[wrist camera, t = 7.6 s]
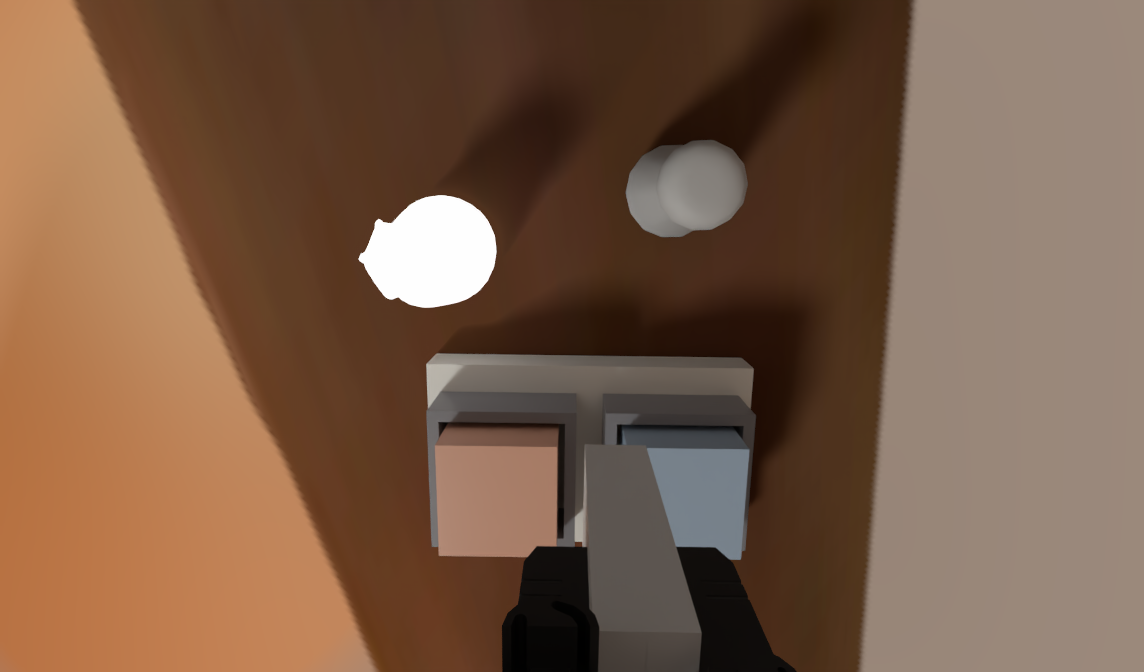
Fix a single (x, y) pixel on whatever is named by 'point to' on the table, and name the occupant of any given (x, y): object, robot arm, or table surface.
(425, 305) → the figurine
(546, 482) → the terracotta key
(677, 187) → the salt shaker
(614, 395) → the key housing
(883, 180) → the table surface
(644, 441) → the slate blue key
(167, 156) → the table surface
